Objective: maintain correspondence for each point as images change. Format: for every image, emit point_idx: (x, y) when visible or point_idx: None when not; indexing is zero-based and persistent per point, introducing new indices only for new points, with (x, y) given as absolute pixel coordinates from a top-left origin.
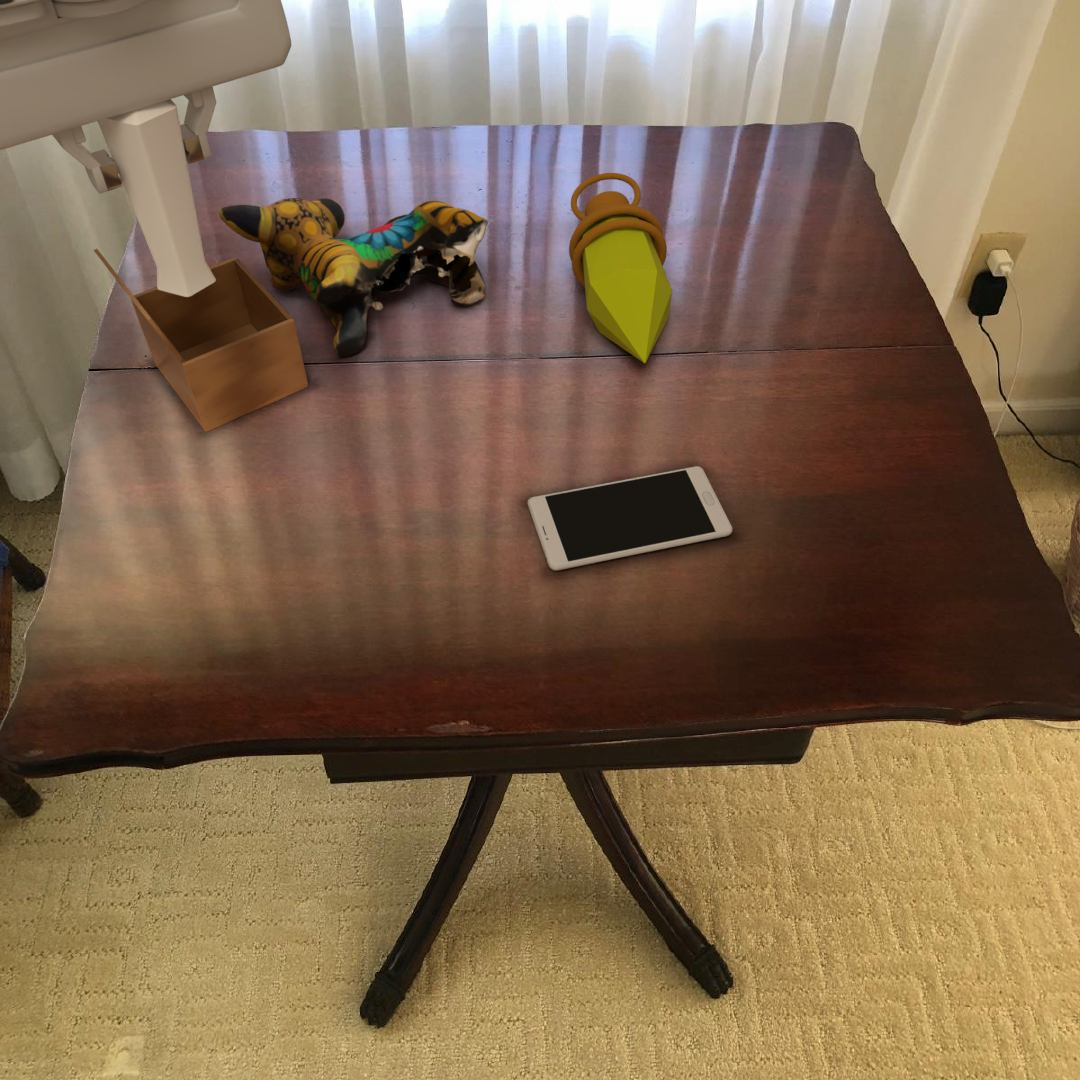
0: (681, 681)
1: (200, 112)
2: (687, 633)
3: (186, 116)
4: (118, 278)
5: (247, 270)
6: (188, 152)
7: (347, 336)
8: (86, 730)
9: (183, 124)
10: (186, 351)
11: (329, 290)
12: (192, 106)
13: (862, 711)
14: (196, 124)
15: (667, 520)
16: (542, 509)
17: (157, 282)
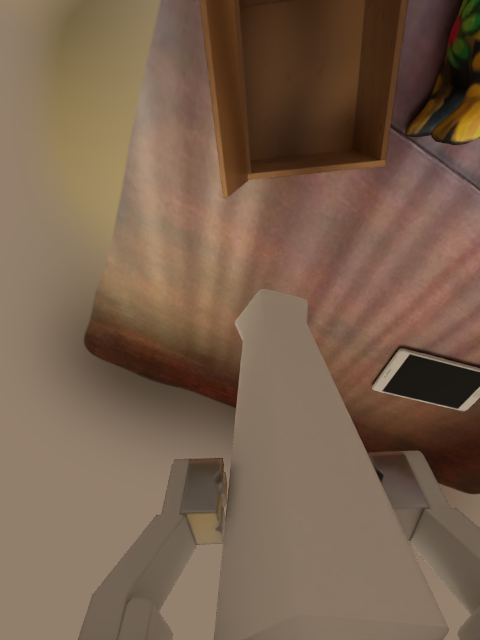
0: (370, 443)
1: (461, 596)
2: (393, 431)
3: (441, 531)
4: (211, 69)
5: (406, 2)
6: None
7: (429, 130)
8: (119, 357)
9: (420, 508)
10: (273, 8)
11: (453, 144)
12: (471, 573)
13: None
14: (432, 558)
15: (446, 394)
16: (400, 360)
17: (237, 328)
